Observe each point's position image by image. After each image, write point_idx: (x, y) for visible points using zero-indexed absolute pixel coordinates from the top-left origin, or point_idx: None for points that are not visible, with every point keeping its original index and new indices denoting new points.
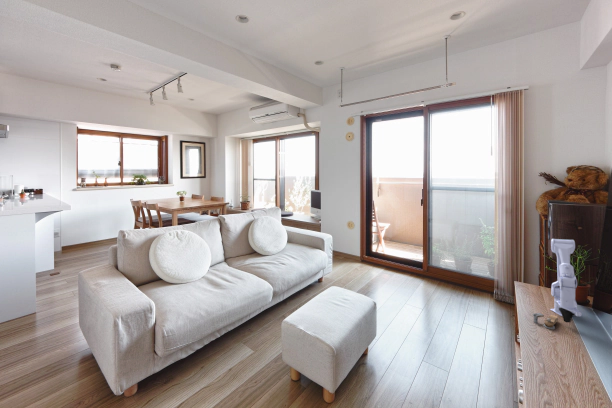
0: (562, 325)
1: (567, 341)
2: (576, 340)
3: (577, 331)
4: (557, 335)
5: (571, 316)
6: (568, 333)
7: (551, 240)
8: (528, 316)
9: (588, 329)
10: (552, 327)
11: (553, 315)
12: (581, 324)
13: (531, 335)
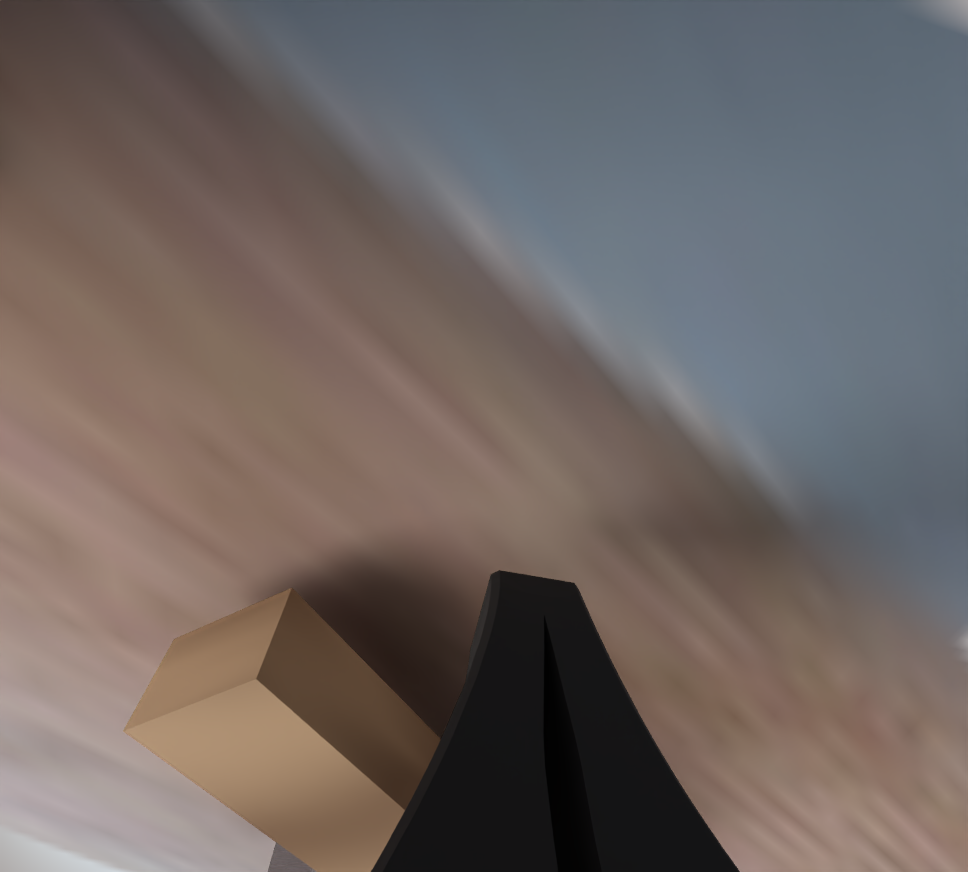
0: (470, 579)
1: (894, 856)
2: (961, 761)
3: (787, 516)
4: None
5: (664, 839)
6: (754, 707)
7: None
8: (75, 799)
9: (878, 125)
10: None
11: (178, 720)
12: (548, 9)
13: None
